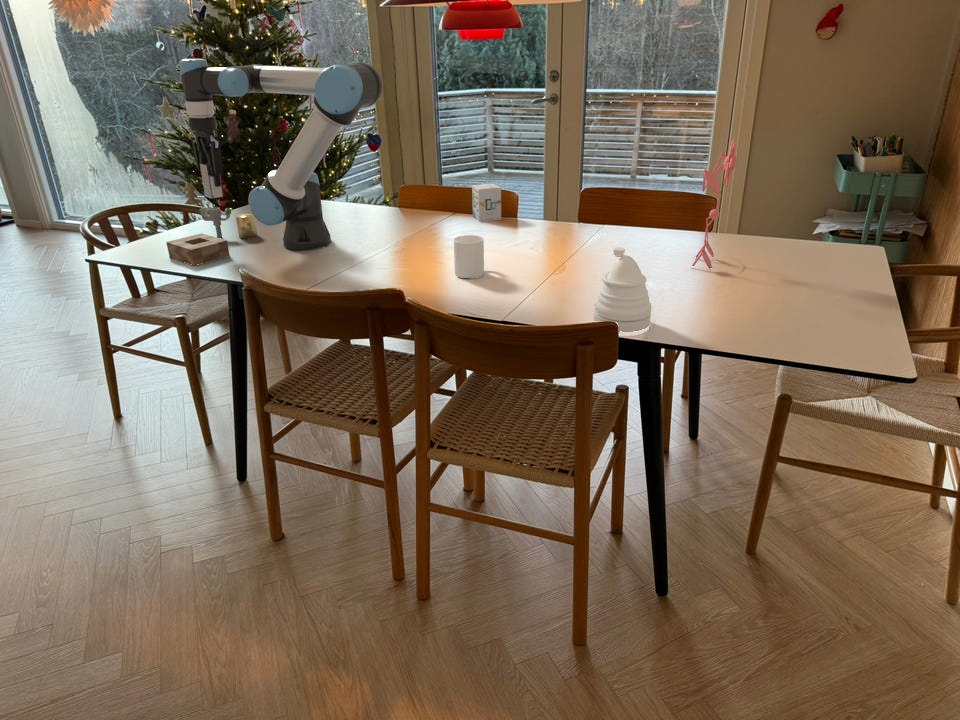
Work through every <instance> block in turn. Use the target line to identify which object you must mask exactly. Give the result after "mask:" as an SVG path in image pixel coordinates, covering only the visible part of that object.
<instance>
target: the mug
mask: <svg viewBox="0 0 960 720" xmlns="http://www.w3.org/2000/svg"><path fill="white" fill-rule="evenodd" d="M484 240H485V238H484V237H482V236H479V235H475V234H467V235H459V236H456V237H455V238H453V260H454V262H453V263H454V264H453V265H454V274H455V276H456V277H457V276H458V277H457V278H459V277H460V278H459V279H462V278H475V279H478V278H477V277H479V278H481V277H483V275H484V273H485V256H484V255H485V250H484V248H485V247H484V244H485V243H484V242H485V241H484ZM480 276H481V277H480Z"/></svg>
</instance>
